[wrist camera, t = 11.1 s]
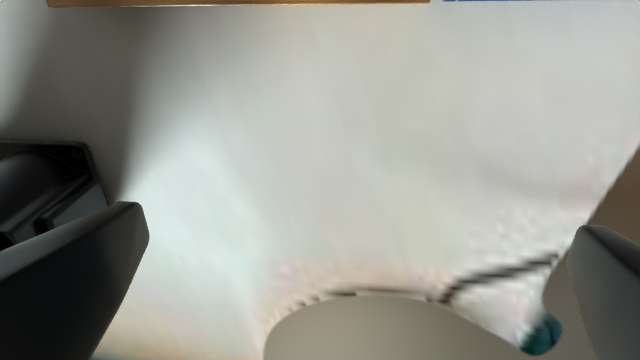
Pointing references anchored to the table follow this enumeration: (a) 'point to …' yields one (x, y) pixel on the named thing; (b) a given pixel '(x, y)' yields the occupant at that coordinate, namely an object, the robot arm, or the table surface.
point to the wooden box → (215, 2)
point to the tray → (486, 0)
